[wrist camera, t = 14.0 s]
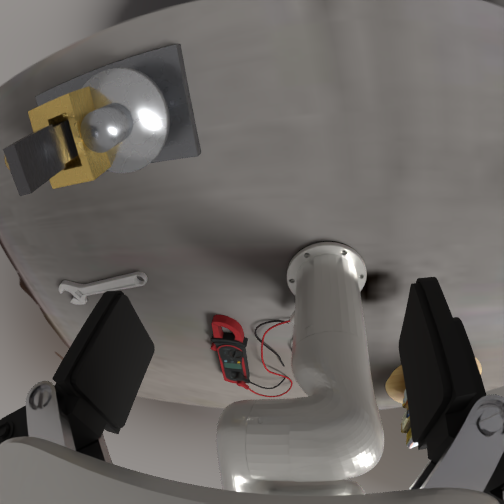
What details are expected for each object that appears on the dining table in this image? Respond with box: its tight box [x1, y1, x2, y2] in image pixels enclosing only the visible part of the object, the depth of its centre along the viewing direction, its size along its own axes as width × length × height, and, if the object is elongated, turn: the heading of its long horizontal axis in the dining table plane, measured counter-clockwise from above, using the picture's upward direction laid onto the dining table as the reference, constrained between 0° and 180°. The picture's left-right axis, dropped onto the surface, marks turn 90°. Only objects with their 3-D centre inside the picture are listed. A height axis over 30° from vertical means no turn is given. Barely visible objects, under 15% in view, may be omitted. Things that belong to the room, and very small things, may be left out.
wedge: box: [3, 119, 79, 196], centre depth 28 cm, size 2×5×12 cm, turn 8°
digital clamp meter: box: [211, 315, 297, 397], centre depth 63 cm, size 23×4×25 cm
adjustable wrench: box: [59, 271, 147, 305], centre depth 60 cm, size 25×6×2 cm, turn 105°
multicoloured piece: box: [5, 44, 201, 189], centre depth 34 cm, size 25×15×11 cm, turn 98°
